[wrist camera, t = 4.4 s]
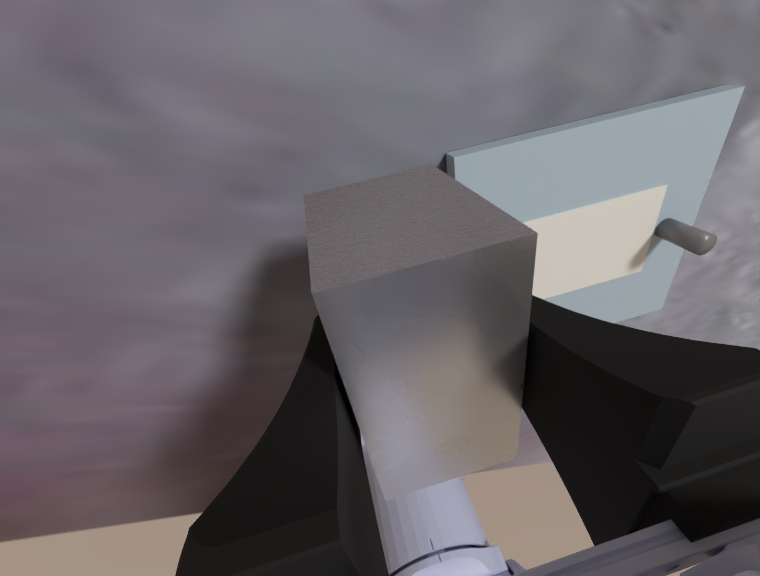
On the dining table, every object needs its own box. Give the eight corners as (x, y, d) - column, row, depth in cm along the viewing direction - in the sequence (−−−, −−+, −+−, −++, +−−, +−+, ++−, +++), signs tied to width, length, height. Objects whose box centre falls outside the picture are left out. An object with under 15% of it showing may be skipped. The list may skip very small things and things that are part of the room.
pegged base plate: (649, 301, 25) (695, 330, 22) (458, 357, 24) (481, 396, 21) (723, 85, 17) (809, 88, 14) (445, 153, 16) (478, 170, 13)
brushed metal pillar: (431, 164, 11) (537, 232, 6) (447, 338, 16) (517, 458, 11) (303, 195, 11) (311, 293, 6) (356, 364, 16) (385, 500, 11)
